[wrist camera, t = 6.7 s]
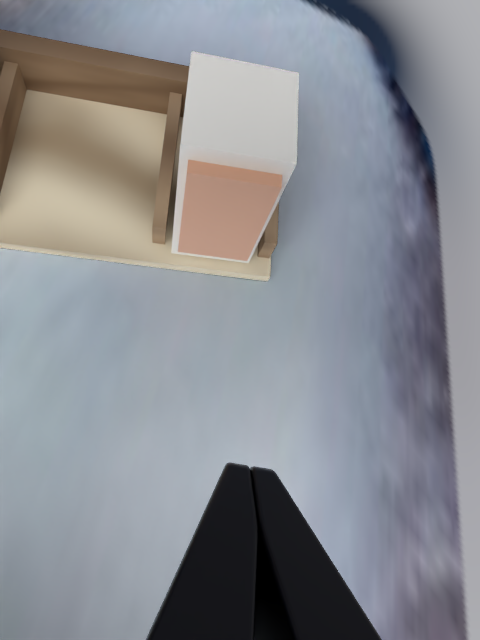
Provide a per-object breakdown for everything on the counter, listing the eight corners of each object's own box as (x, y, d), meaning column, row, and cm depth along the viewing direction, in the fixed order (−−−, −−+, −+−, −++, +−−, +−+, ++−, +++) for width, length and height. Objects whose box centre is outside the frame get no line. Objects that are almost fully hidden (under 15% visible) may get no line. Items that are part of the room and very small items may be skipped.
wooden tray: (267, 281, 23) (283, 256, 20) (-149, 229, 20) (-199, 191, 17) (273, 126, 26) (288, 85, 23) (-89, 61, 23) (-123, 5, 20)
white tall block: (247, 272, 22) (296, 176, 15) (170, 262, 22) (178, 157, 14) (252, 196, 23) (298, 72, 16) (179, 185, 23) (191, 51, 15)
